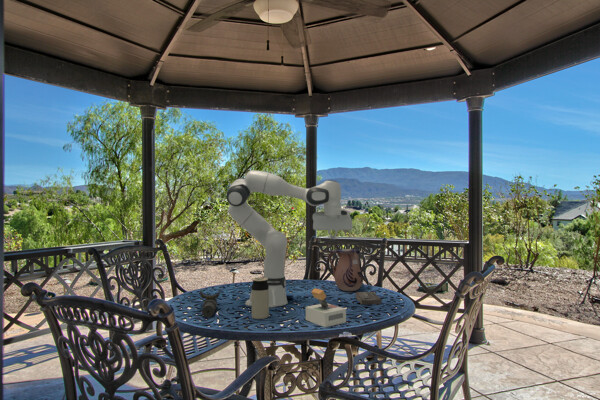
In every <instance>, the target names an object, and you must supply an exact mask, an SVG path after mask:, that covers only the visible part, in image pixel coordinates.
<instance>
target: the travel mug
mask: <svg viewBox="0 0 600 400" xmlns="http://www.w3.org/2000/svg"><path fill="white" fill-rule="evenodd" d="M251 280H252V284H251V292H252V306H251V318H252V319H255V320H265V319H268V318H269V317H270V314H269V313H270V312H269V311H270V310H269V309H270V307H269V285H268V283H267V280H268V278H265V277H263V276H262V277H261V276H259V277H253V278H252V279H251Z"/></svg>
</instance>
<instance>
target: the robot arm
mask: <svg viewBox="0 0 600 400" xmlns="http://www.w3.org/2000/svg"><path fill="white" fill-rule="evenodd" d="M252 193H260V194H264V195H268V196H275V197H276V196H277V197H278V196H280V197H281V196H285V197H286V196H287V197H291V198H295V199H297V200H301V201H303V202H305V203H306V204H308V205H309V206H311V207H318V206H320V205H323V211H316V212H314V213H313V214H312V221H313V224H312V229H313V231H327V234H328V235H329V239H330V240H336V239H337V235H338V233H339V231H352V230H353V219H352V216H350V214H351V212H350V211H349V210H347V209H344V208H342V203H341V199H342V188H341V185H340V183H339V182H338V181H336V180H332V179H331V180H330V179H329V180H328V179H326V180H325V181H323V182H322V183H320V184H318V185H315V186H312V187H309V188H305V187H301V186H298V185H294V184H291V183H289V182H287V180H285V179H284V178H282V177H281V176H279V175H277V174H274V173H271V172H268V171H263V170H253V169H252V170H249V171H247V173H246V174H245V175H244V177H238V178H236V179H235V180H234V181H233V182H232V183H231V184H230V185H229V187H228V189H227V190H226V193H225V194H226V195H225V198H226V201H227V202H228V204H229V205H228V209H227V211H228V214H229V216H230V217H231V218H232V219H233V220H234V222H235V223H237V224H238V225H239V226H240V227H241V228H243V229H244V230H245V231H246V232H247V233H248V234H249V235H251V237H253V238H254V239H255V240H256V241H257V242H258V243H259V244H261V246H262V247H264V249H265V253H264V261H263V276H262V277H265V278H268V280H267V283H268V285H269V308H275V307H282V306H285V305H287V304H288V303H289V302H288V299H287V293H286V285H287V282H286V281H287V280H286V276H285V274H286V273H285V269H286V268H285V267H286V265H285V264H286V263H285V261H286V254H287V245H288V239H287V237H286V234H285V233H283V232H281V231H279V230H276V228H275V227H273V226H272V225H271V224H270V223H269V222H268V221H267V220H266V219H265V217H264V216H262V215H261V214H260V213H259V212H257V211H256V210H255V209H254V208H253V207H252V206H251V205H249V203H248V199H249V198H250V196H251V194H252ZM332 231H334V233H335V234H334V235H332V234H331V232H332ZM249 294H250V296H249V299H247V300H246V301H245V303H244V304H245V306H247V307H248V306H249V307H252V291H251V292H250V293H249Z"/></svg>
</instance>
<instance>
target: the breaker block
mask: <svg viewBox="0 0 600 400" xmlns="http://www.w3.org/2000/svg"><path fill="white" fill-rule="evenodd" d="M327 304H328V307H327V308H325V307H322V306H321V304H320V303H319V304H314V305H308V306H305V321H307V322H310V323H312V324H316V325H317V326H318V325H319V326H321V327H322V328H329V327H332V326H337V325H341V324H346V322H347V308H345V307H341V306H338V305H334V304H331V303H328V302H327Z"/></svg>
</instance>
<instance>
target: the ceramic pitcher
mask: <svg viewBox="0 0 600 400" xmlns="http://www.w3.org/2000/svg"><path fill="white" fill-rule="evenodd" d="M335 253H336V254H337V255H338V258H339V259H338V261H337V263H336V266H334V265H335V264H334V263H333V260H332V255H333V254H335ZM328 262H329V264H330V266H331V268H332V271H333V273H332V275H333V278H334V281H335V282H334V283H335V285H336V286H337V288H338V289H340V291H343V292H354V291H355V292H357V291H358V290H359V289H360V288H361V287H362V285H363V283H364V273H363V268H362V264H361V261H360V249H354V248H347V249H346V248H345V249H343V248H342V249H333V250H331V251H330V252H329V254H328Z"/></svg>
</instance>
